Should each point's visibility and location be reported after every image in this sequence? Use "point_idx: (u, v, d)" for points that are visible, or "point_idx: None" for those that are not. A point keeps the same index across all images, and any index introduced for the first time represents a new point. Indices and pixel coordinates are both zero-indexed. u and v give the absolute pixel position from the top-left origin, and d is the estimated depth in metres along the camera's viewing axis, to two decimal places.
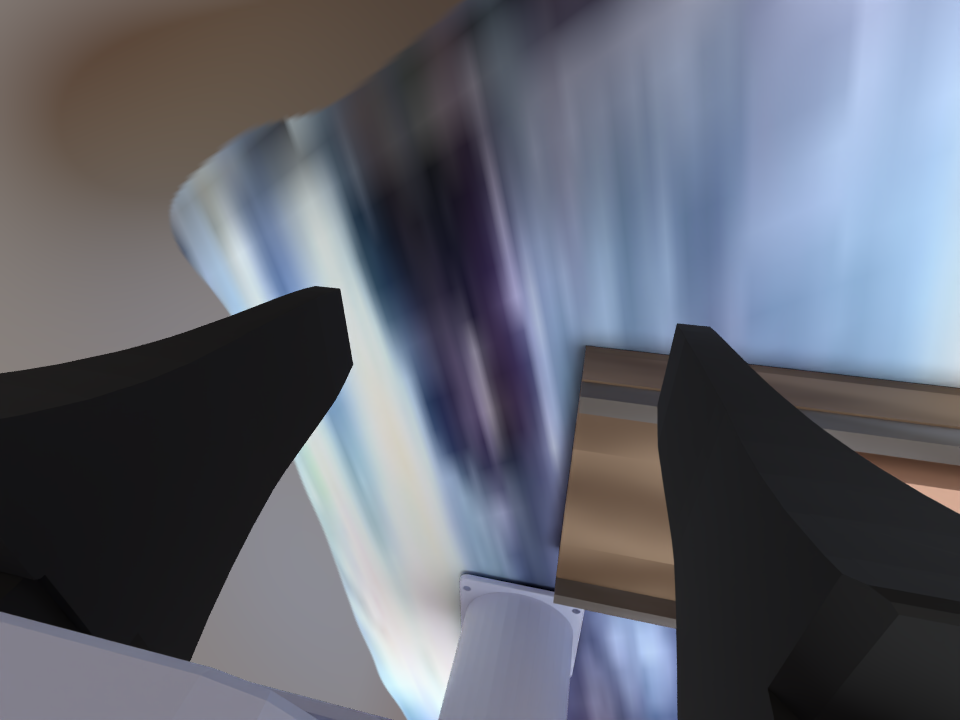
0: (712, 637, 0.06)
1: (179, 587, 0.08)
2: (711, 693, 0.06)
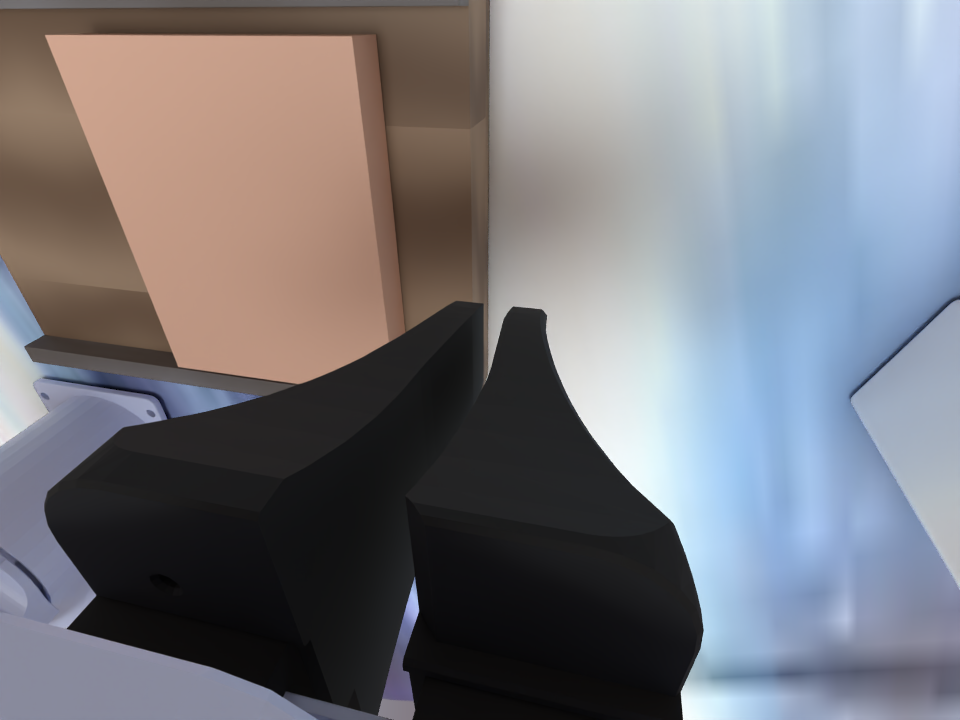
0: None
1: (378, 634, 0.07)
2: None
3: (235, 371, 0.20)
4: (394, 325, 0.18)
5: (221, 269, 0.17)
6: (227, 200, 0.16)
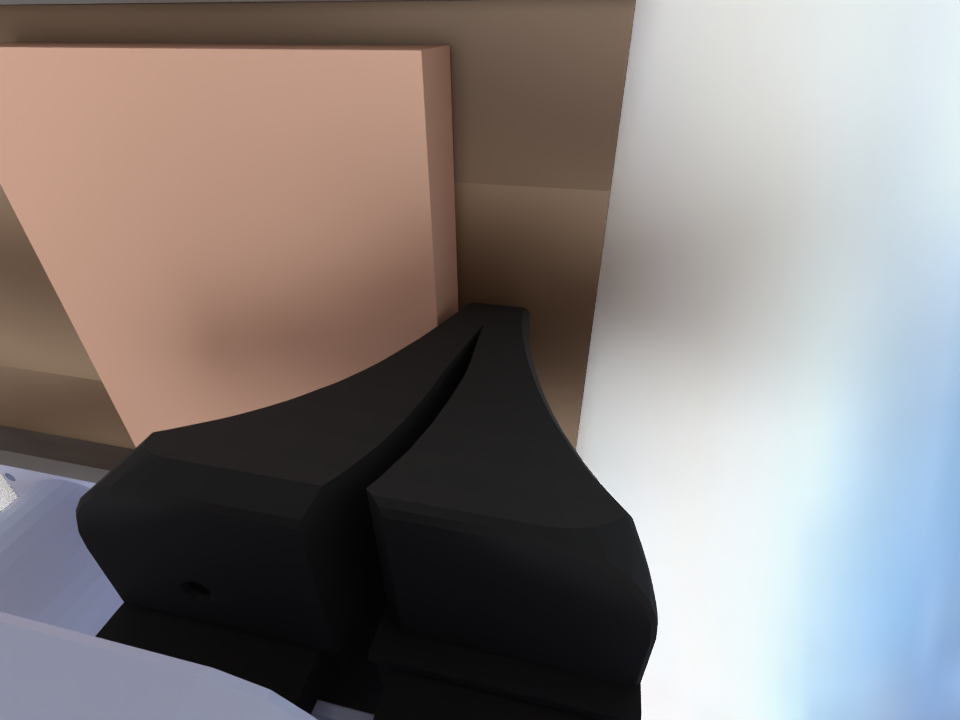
0: None
1: None
2: None
3: None
4: None
5: (209, 376, 0.12)
6: (216, 289, 0.11)
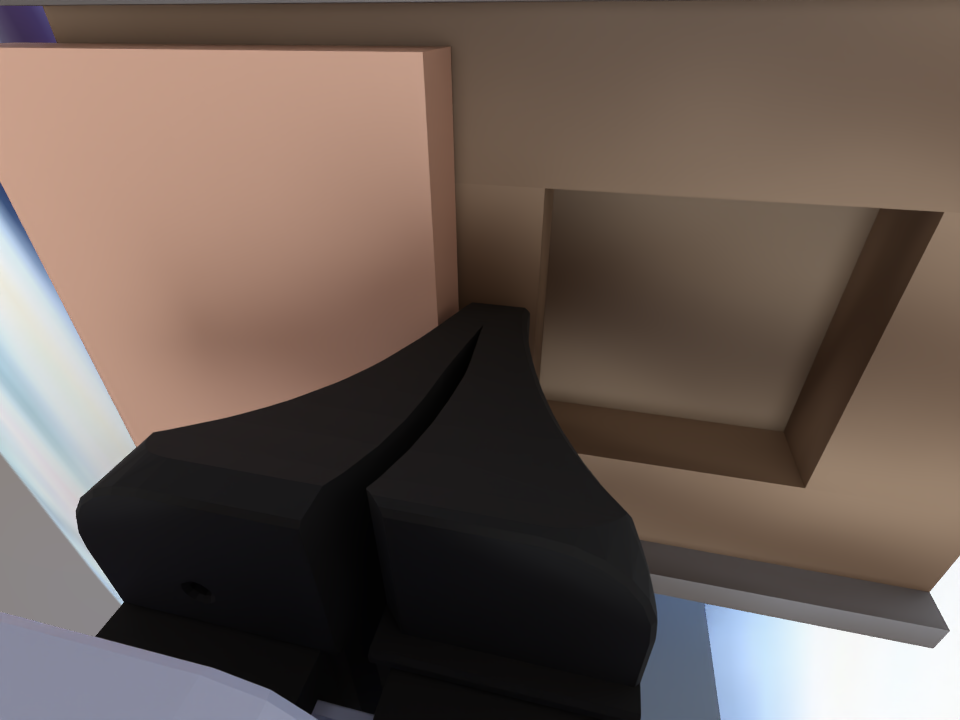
0: None
1: None
2: None
3: None
4: None
5: (210, 376, 0.12)
6: (217, 289, 0.11)
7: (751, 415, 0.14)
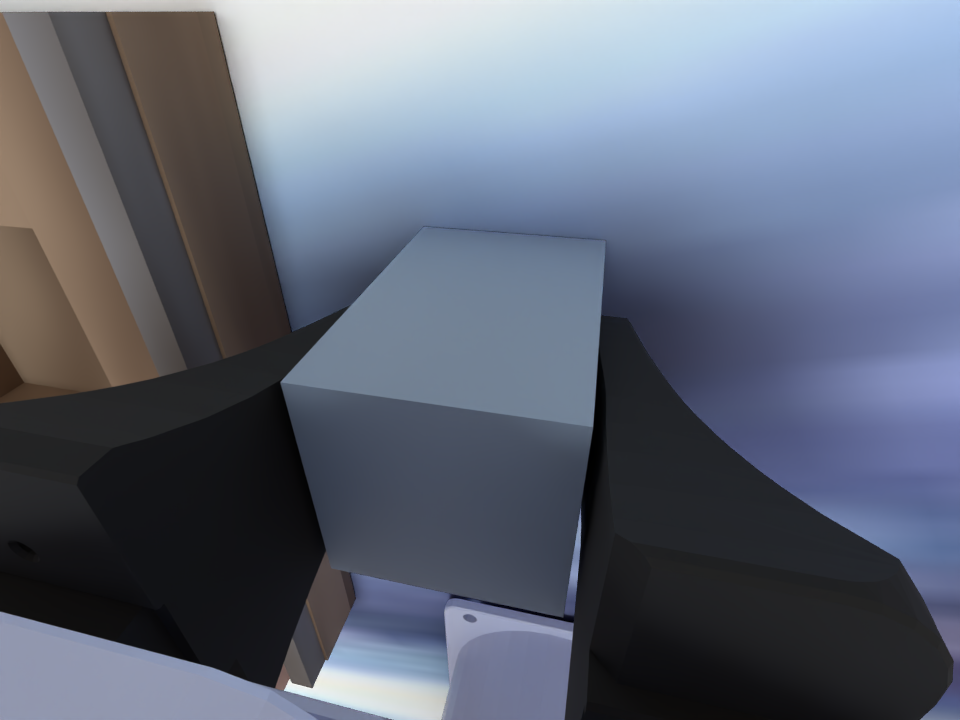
0: (582, 610, 0.06)
1: (270, 609, 0.07)
2: (576, 662, 0.06)
3: None
4: None
5: None
6: None
7: None
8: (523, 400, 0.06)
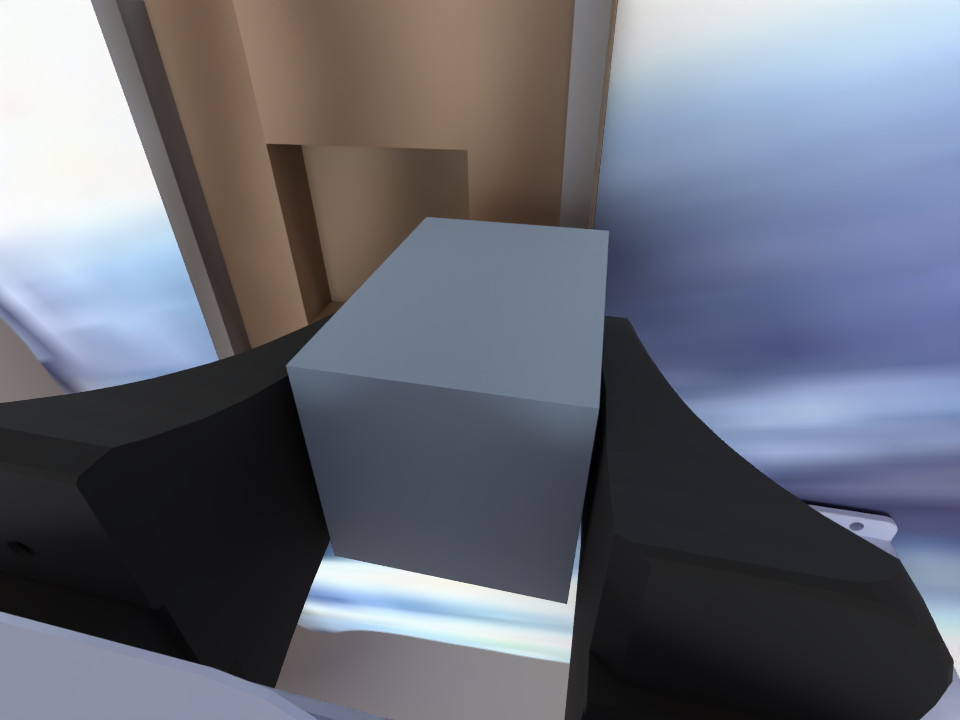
0: (582, 610, 0.06)
1: (270, 608, 0.07)
2: (577, 662, 0.06)
3: None
4: None
5: None
6: None
7: None
8: (529, 382, 0.06)
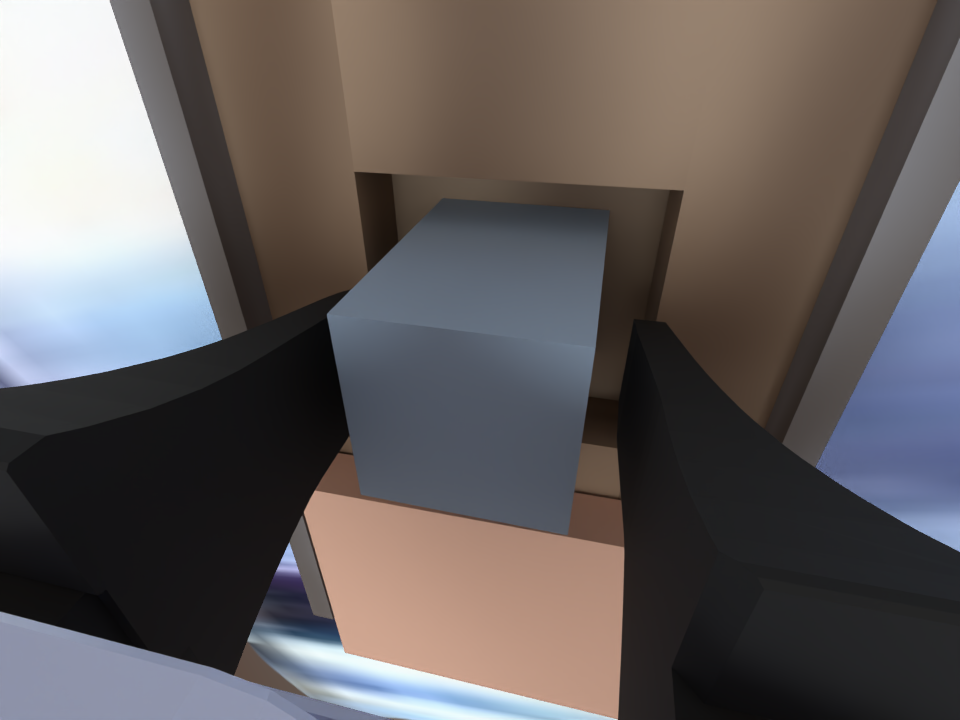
0: (642, 623, 0.06)
1: (226, 598, 0.08)
2: (639, 677, 0.06)
3: None
4: (602, 522, 0.13)
5: (521, 645, 0.16)
6: (448, 612, 0.16)
7: (649, 204, 0.12)
8: (536, 328, 0.07)
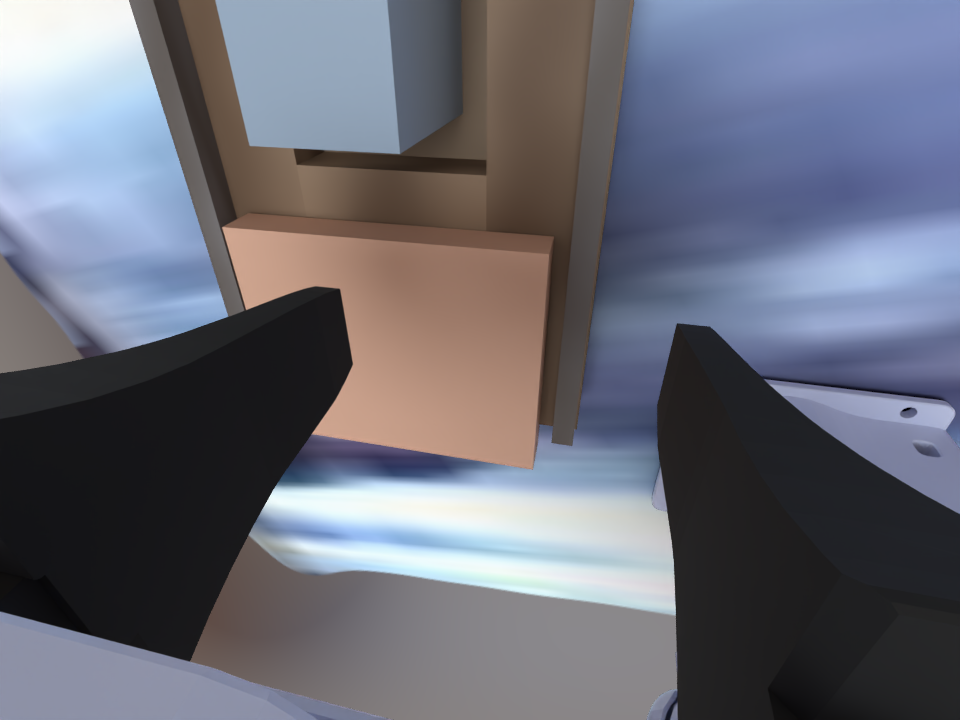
0: (712, 637, 0.06)
1: (179, 587, 0.08)
2: (711, 693, 0.06)
3: (531, 418, 0.19)
4: (468, 239, 0.16)
5: (419, 387, 0.19)
6: (357, 358, 0.19)
7: None
8: None
